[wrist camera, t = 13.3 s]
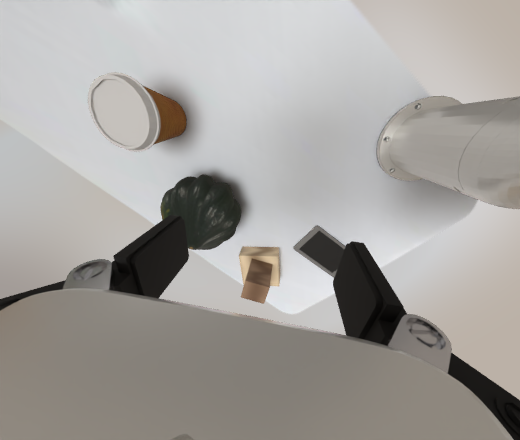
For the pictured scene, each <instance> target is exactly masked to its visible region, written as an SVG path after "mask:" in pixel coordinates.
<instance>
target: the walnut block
mask: <svg viewBox="0 0 520 440" xmlns="http://www.w3.org/2000/svg"><path fill="white" fill-rule="evenodd" d="M272 266H273V264H270V263H267V262H263V261H260V260H256V259H251V263H250V266H249V270H248V273H247V276H246V280H245V283H244V287H243V291H242V295H241V297H242V298H245V299H249V300H252V301H256V302H260V303H264V302H265V299H266V296H267V294H268V291H269V288H270V281H271V273H272Z"/></svg>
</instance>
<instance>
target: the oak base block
mask: <svg viewBox="0 0 520 440" xmlns="http://www.w3.org/2000/svg"><path fill="white" fill-rule="evenodd" d="M239 259H240V265H241V271H242V277H243V284H244V283H245V280H246V276H247V273H248V270H249V266H250V263H251V259H256V260H260V261H263V262H267V263H270V264H273V266H272V273H271V281H270V286H279V282H280V266H279V247H242V249H241V252H240V254H239Z"/></svg>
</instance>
